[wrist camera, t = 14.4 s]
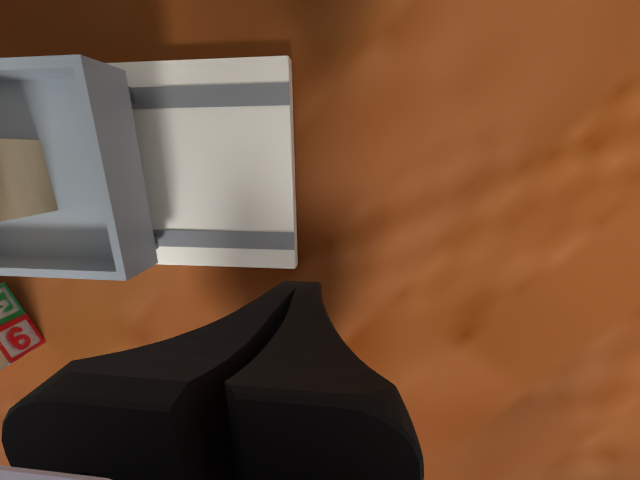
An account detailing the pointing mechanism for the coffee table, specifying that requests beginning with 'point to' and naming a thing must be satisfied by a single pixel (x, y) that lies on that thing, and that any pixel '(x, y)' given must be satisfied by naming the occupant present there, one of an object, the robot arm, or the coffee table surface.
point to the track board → (218, 159)
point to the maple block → (24, 180)
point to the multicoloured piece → (15, 329)
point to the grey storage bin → (77, 171)
